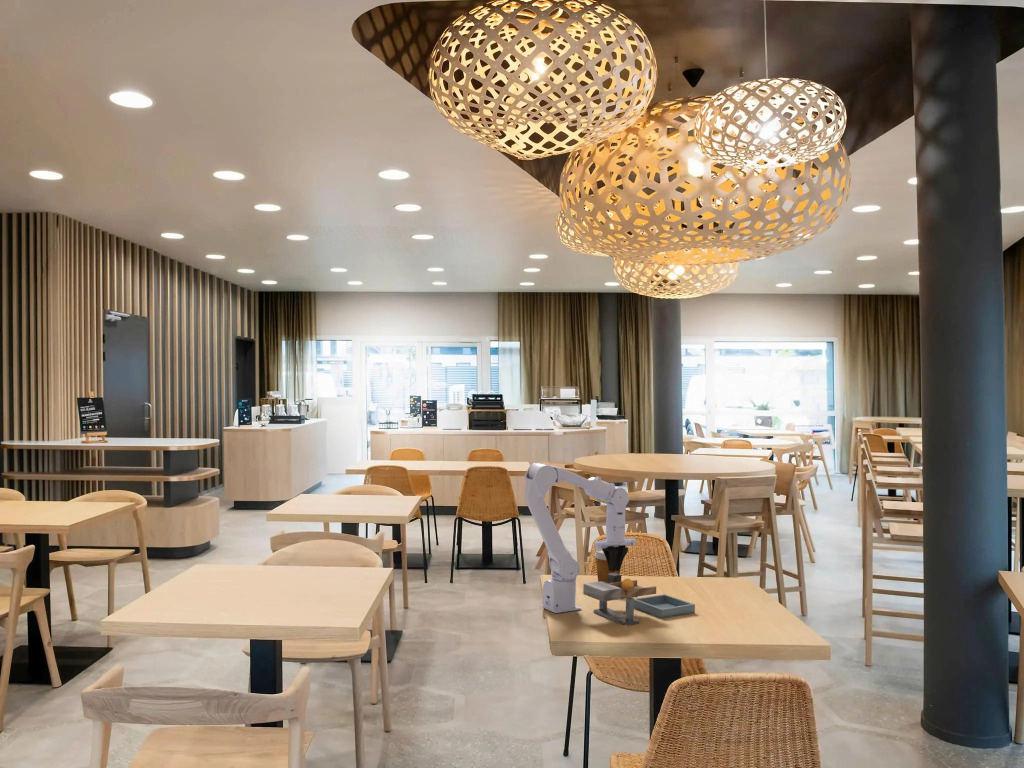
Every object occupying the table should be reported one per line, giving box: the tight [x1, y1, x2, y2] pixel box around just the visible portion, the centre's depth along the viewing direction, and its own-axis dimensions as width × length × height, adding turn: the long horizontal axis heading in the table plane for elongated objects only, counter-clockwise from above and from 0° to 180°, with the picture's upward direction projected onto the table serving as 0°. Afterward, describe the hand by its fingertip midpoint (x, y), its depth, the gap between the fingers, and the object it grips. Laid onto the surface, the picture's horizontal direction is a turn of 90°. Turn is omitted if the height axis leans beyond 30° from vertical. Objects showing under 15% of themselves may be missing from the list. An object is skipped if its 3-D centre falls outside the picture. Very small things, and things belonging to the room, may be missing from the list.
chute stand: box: [593, 597, 640, 626], centre depth 225 cm, size 5×15×7 cm, turn 31°
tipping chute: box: [582, 573, 657, 602], centre depth 230 cm, size 20×17×3 cm
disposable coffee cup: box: [594, 548, 621, 583], centre depth 261 cm, size 10×10×12 cm
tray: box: [633, 593, 696, 619], centre depth 235 cm, size 13×13×2 cm
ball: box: [621, 578, 634, 590], centre depth 228 cm, size 4×4×4 cm
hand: (614, 570), depth 239 cm, fingers closed
